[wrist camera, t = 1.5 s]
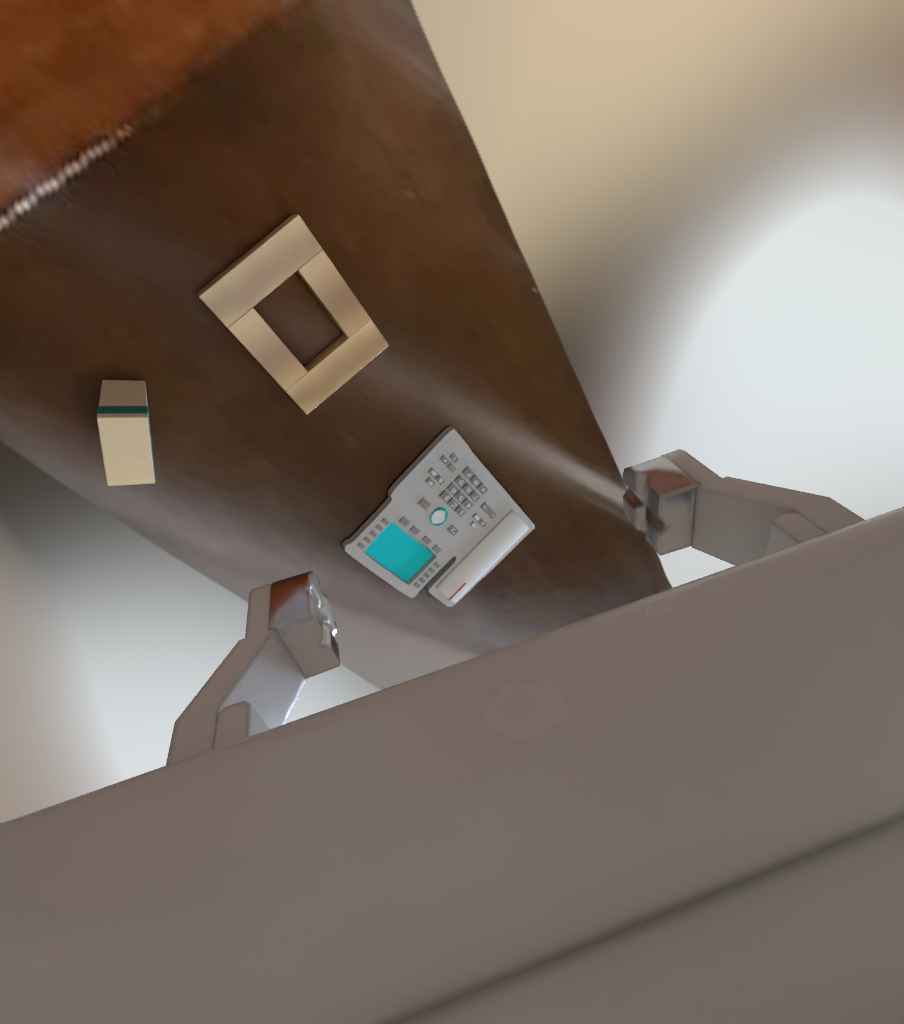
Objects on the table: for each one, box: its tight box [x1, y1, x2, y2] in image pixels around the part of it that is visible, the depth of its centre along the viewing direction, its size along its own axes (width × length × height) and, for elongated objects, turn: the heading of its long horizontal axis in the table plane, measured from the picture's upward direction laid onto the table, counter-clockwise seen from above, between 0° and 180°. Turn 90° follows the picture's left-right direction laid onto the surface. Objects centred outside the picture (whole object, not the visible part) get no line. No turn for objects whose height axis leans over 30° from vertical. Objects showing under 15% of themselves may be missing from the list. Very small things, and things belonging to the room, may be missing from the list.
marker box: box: [97, 380, 155, 486], centre depth 44 cm, size 6×3×10 cm, turn 170°
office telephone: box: [342, 426, 535, 607], centre depth 71 cm, size 23×3×20 cm
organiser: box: [197, 214, 389, 415], centre depth 50 cm, size 14×11×2 cm
